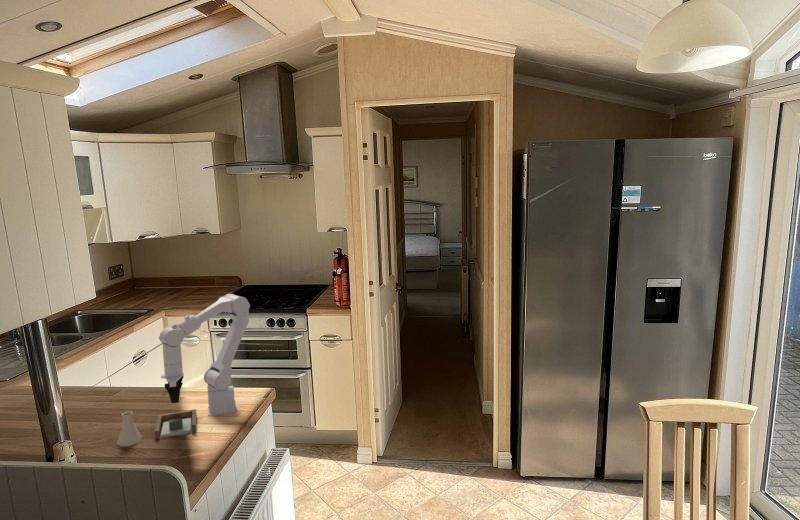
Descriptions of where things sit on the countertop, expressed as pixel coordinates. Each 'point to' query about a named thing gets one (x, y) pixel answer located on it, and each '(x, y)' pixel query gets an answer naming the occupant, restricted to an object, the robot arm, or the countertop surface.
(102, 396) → the countertop surface
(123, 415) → the flask
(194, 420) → the box
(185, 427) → the cover plate
